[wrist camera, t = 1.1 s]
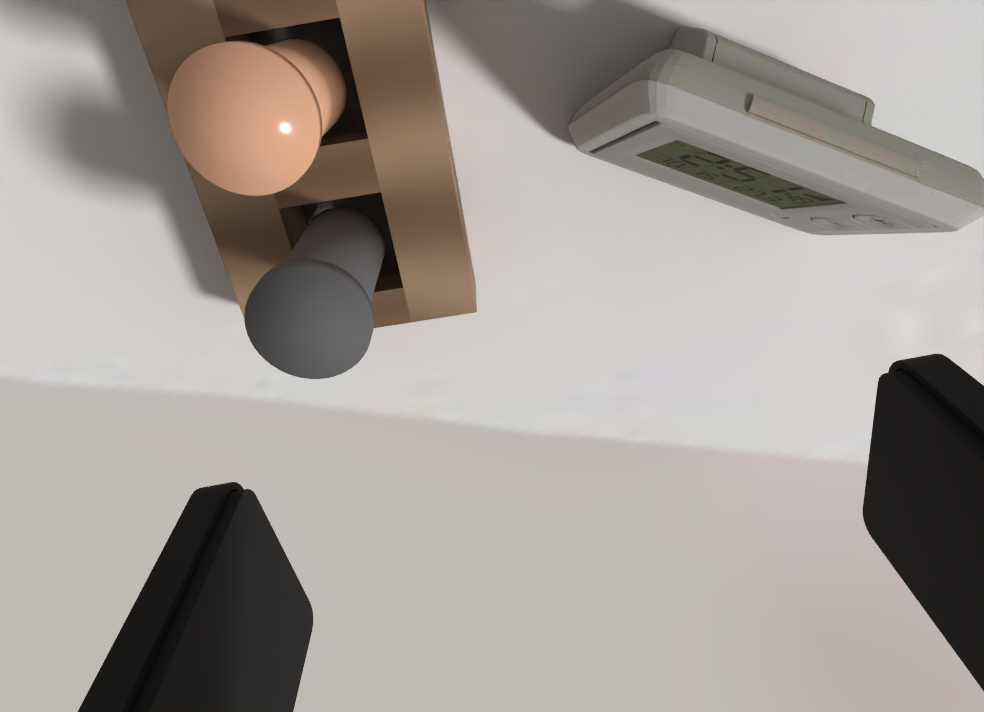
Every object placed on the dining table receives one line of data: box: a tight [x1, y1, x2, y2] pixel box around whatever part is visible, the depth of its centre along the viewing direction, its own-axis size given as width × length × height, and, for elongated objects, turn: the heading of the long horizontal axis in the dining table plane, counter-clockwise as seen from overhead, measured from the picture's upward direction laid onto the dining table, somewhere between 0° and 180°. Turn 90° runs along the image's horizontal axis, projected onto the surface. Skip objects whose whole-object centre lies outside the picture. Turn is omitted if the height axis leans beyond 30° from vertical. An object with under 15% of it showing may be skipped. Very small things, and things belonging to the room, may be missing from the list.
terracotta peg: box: [167, 39, 347, 196], centre depth 25 cm, size 5×5×9 cm
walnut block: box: [126, 0, 477, 328], centre depth 31 cm, size 24×12×4 cm, turn 9°
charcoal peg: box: [245, 207, 385, 379], centre depth 29 cm, size 5×5×9 cm
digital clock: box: [568, 26, 984, 235], centre depth 30 cm, size 16×9×11 cm, turn 59°
